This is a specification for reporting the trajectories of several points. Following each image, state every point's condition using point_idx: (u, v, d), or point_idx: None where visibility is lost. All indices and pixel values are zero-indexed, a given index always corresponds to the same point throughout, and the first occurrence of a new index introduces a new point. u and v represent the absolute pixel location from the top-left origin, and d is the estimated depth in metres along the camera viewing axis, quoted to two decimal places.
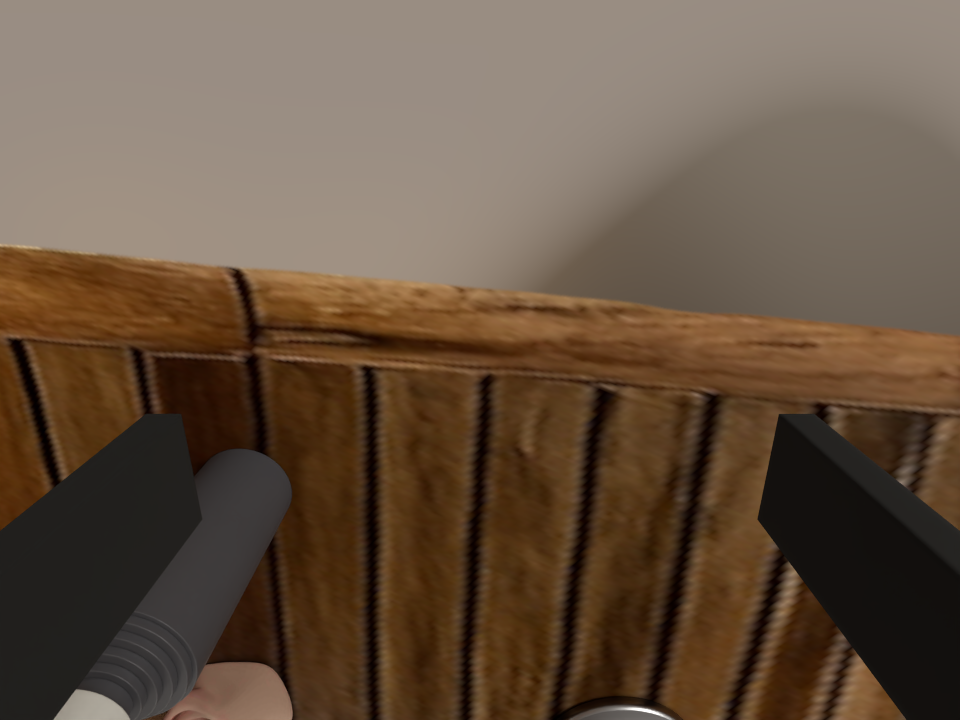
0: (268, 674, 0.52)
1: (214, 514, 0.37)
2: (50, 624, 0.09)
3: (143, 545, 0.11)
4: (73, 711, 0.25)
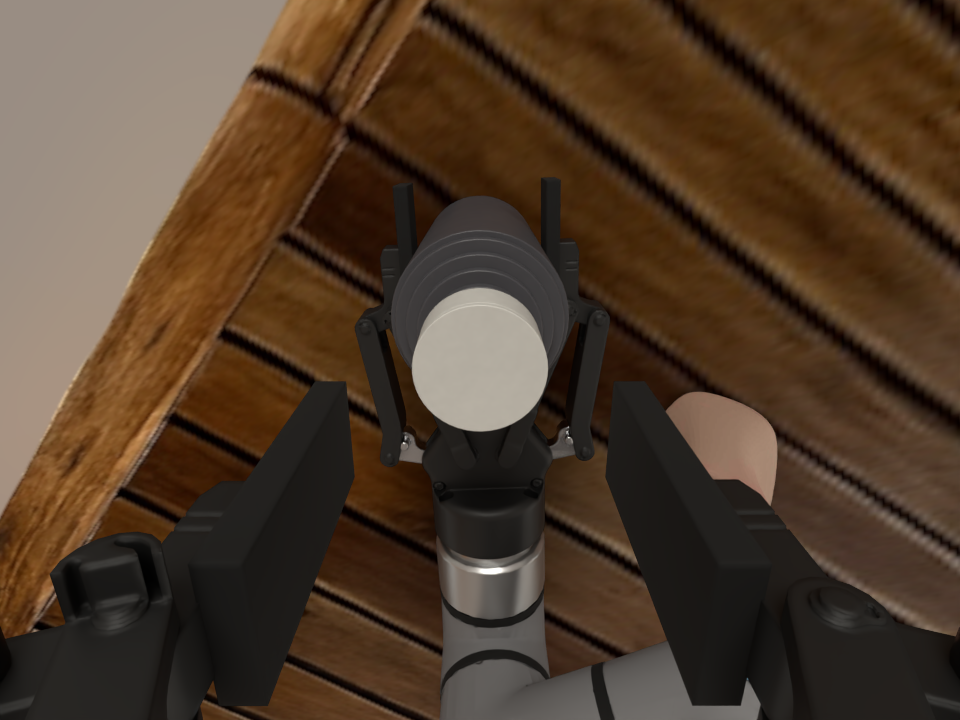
0: (696, 398, 0.42)
1: (442, 219, 0.30)
2: (297, 545, 0.10)
3: (331, 491, 0.13)
4: (436, 311, 0.19)
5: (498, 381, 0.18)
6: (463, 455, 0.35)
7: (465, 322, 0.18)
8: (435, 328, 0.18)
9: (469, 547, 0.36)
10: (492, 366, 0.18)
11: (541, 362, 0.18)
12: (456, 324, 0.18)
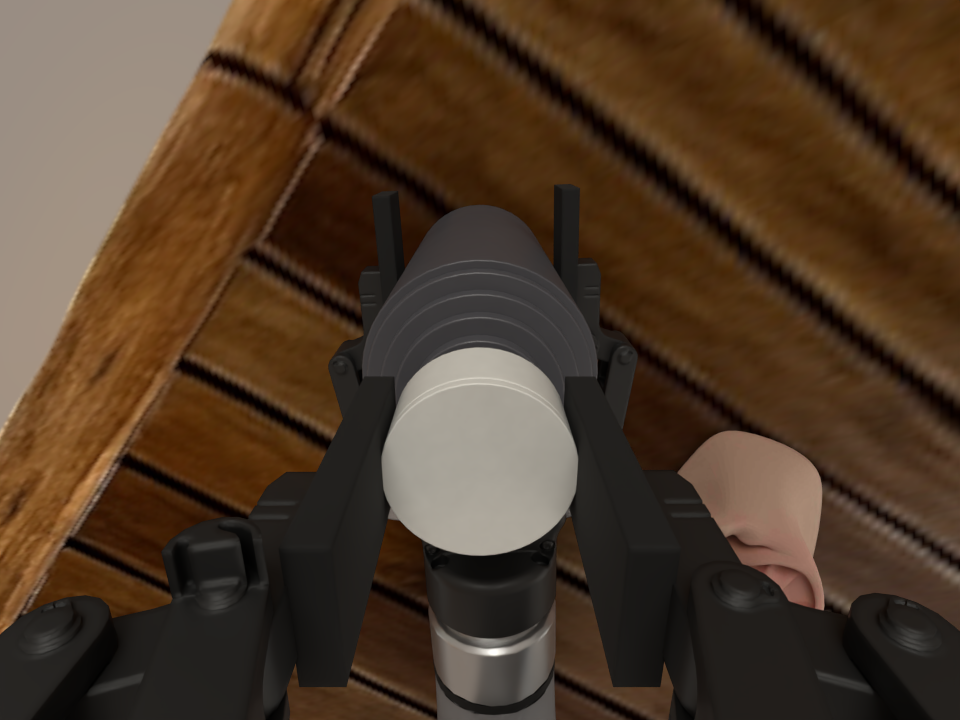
0: (731, 438, 0.36)
1: (433, 236, 0.25)
2: (364, 533, 0.11)
3: None
4: (417, 384, 0.13)
5: (507, 489, 0.13)
6: None
7: (458, 408, 0.12)
8: (413, 416, 0.12)
9: (467, 625, 0.30)
10: (498, 468, 0.12)
11: (569, 463, 0.12)
12: (445, 410, 0.12)
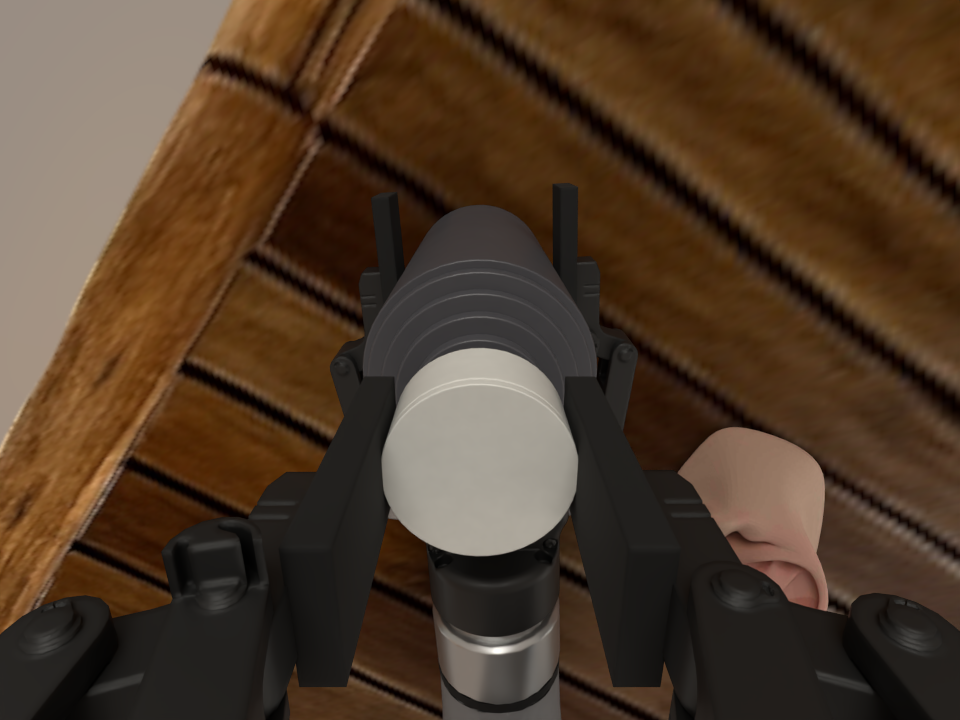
0: (733, 434, 0.36)
1: (433, 237, 0.25)
2: (364, 533, 0.11)
3: None
4: None
5: (474, 447, 0.12)
6: None
7: (438, 528, 0.13)
8: (471, 551, 0.13)
9: (471, 623, 0.30)
10: (462, 468, 0.12)
11: (408, 423, 0.12)
12: (448, 535, 0.13)
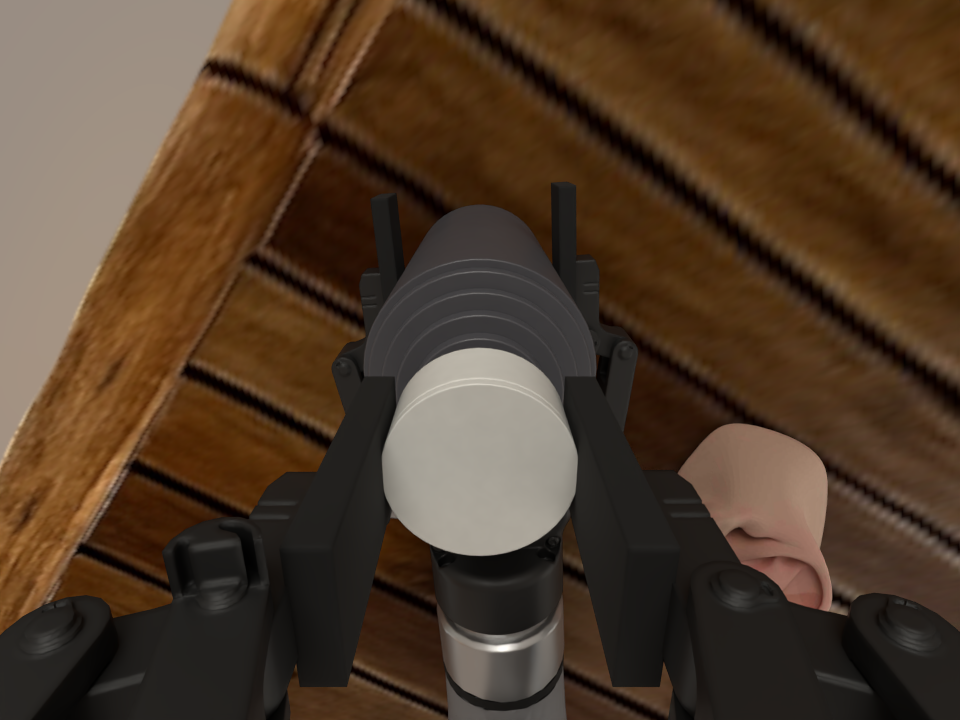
0: (734, 431, 0.36)
1: (432, 237, 0.25)
2: (364, 533, 0.11)
3: None
4: (558, 402, 0.13)
5: (460, 496, 0.13)
6: None
7: (556, 467, 0.12)
8: (556, 429, 0.12)
9: (475, 622, 0.30)
10: (484, 491, 0.13)
11: (479, 549, 0.13)
12: (556, 456, 0.12)
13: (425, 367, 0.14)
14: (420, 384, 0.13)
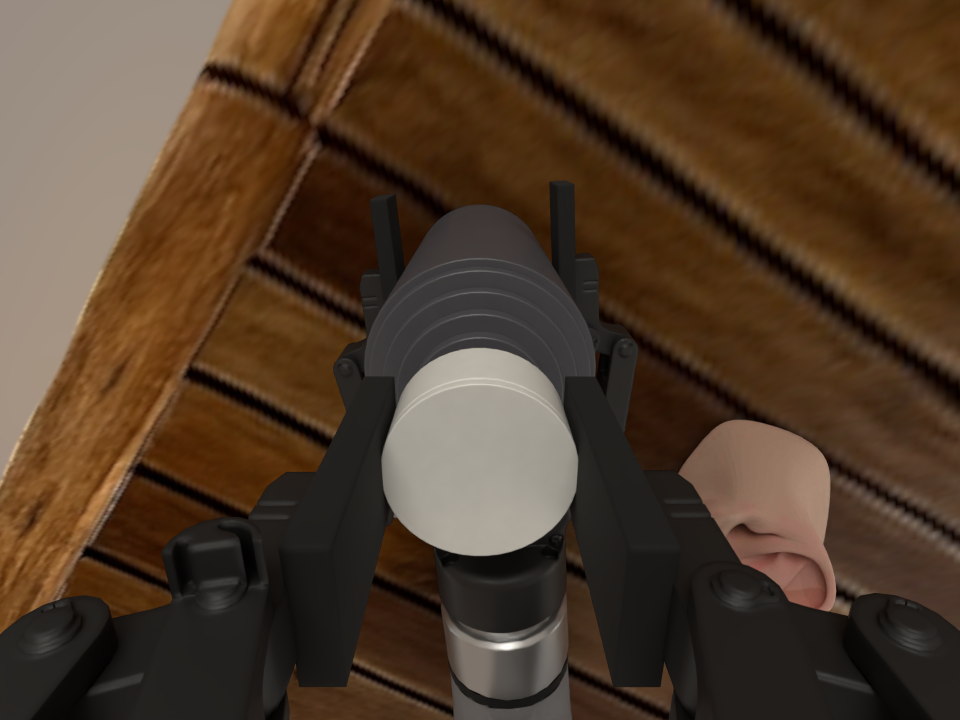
0: (736, 427, 0.36)
1: (431, 237, 0.25)
2: (364, 533, 0.11)
3: None
4: (391, 424, 0.13)
5: (511, 474, 0.12)
6: None
7: (421, 429, 0.12)
8: (390, 457, 0.12)
9: (479, 620, 0.30)
10: (491, 461, 0.12)
11: (550, 422, 0.12)
12: (411, 438, 0.12)
13: None
14: None
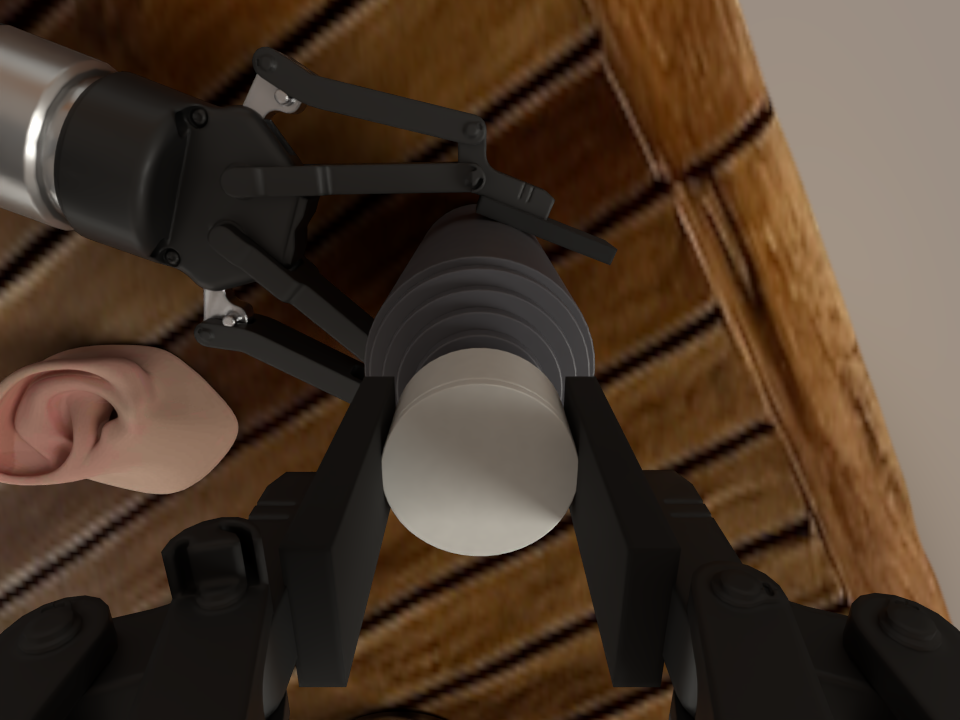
0: (230, 433, 0.37)
1: None
2: (364, 533, 0.11)
3: None
4: None
5: (511, 474, 0.12)
6: (245, 183, 0.24)
7: (421, 429, 0.12)
8: (390, 456, 0.12)
9: (84, 134, 0.22)
10: (491, 461, 0.12)
11: (550, 422, 0.12)
12: (411, 437, 0.12)
13: None
14: None
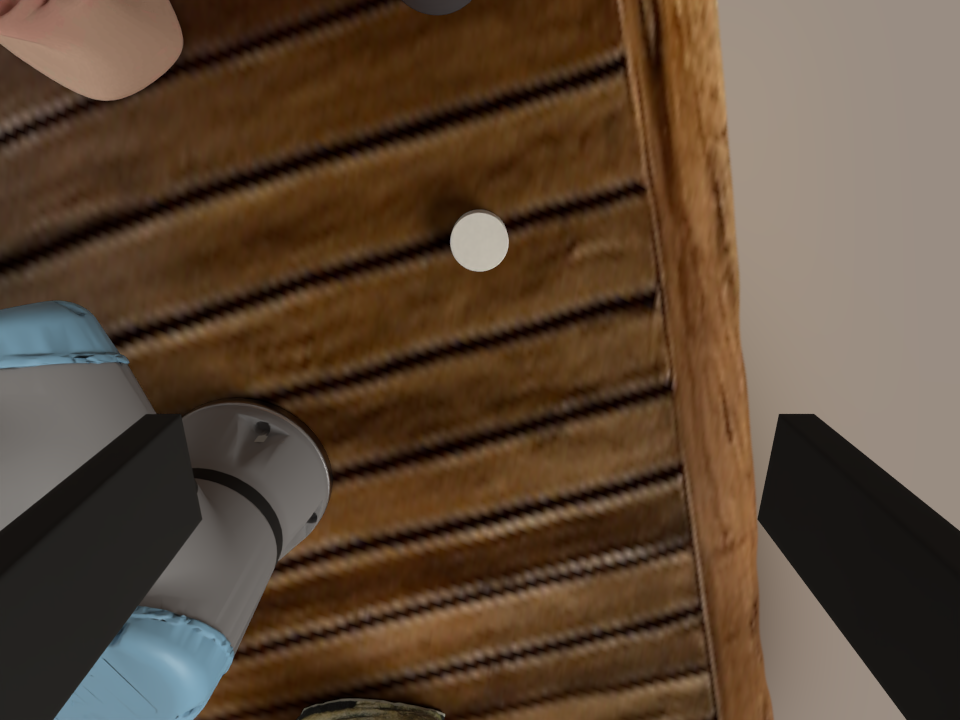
0: (173, 49, 0.40)
1: None
2: (50, 624, 0.09)
3: (143, 545, 0.11)
4: None
5: (488, 242, 0.43)
6: None
7: (462, 227, 0.42)
8: (453, 236, 0.42)
9: None
10: (482, 237, 0.42)
11: (499, 225, 0.42)
12: (459, 229, 0.42)
13: None
14: None
